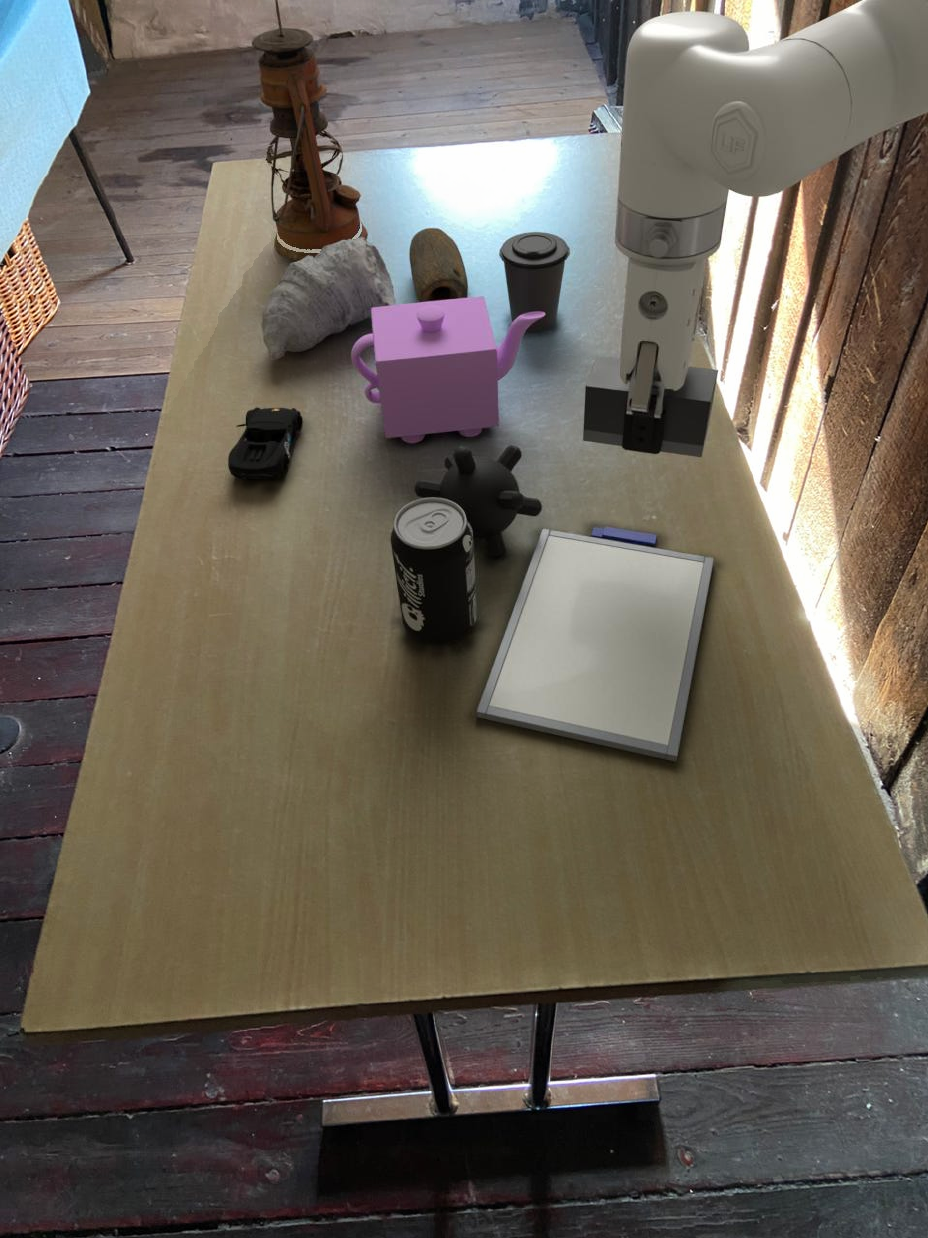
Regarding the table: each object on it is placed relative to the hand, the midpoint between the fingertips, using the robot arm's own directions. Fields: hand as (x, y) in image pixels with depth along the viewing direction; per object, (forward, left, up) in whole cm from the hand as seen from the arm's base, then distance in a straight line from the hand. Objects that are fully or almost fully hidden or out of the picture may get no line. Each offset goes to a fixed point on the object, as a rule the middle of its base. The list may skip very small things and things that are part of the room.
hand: (647, 428), depth 80 cm
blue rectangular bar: (0, +1, -12) cm, 12 cm away
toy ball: (+14, +3, -12) cm, 19 cm away
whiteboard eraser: (0, 0, 0) cm, 0 cm away
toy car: (+39, -3, -12) cm, 41 cm away
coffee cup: (+18, -34, -12) cm, 40 cm away
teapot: (+22, -14, -12) cm, 29 cm away
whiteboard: (0, +13, -12) cm, 18 cm away
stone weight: (+31, -37, -12) cm, 50 cm away
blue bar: (+1, +1, -12) cm, 12 cm away
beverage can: (+14, +15, -12) cm, 24 cm away
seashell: (+41, -26, -12) cm, 50 cm away
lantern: (+52, -48, -12) cm, 72 cm away
